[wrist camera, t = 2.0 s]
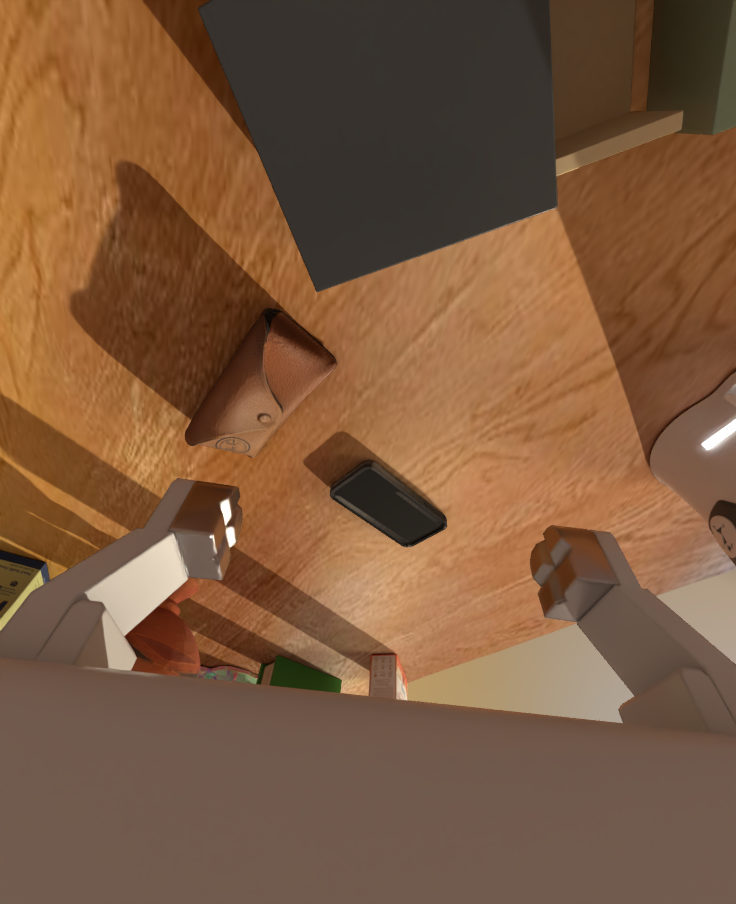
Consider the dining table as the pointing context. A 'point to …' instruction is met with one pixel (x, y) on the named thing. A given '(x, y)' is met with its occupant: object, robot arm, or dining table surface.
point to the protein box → (18, 582)
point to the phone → (387, 504)
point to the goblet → (166, 638)
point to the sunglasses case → (260, 386)
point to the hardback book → (296, 676)
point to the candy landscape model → (228, 674)
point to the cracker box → (387, 677)
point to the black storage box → (393, 120)
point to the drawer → (610, 75)
